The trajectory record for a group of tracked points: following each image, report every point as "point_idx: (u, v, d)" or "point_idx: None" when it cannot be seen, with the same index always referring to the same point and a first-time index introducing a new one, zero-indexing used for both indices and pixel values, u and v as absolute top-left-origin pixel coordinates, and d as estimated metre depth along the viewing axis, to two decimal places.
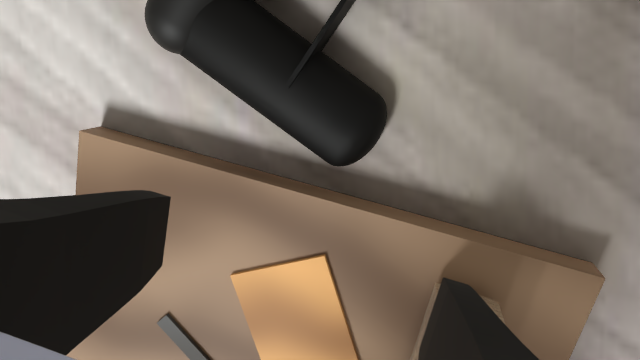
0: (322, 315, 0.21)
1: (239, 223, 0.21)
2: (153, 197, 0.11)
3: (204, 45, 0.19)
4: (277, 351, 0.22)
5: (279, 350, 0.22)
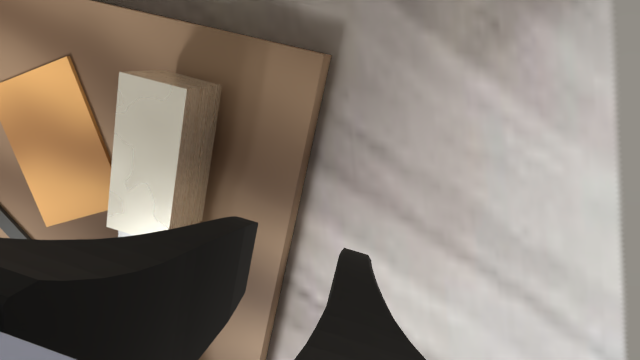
0: (74, 124, 0.21)
1: None
2: (247, 225, 0.11)
3: None
4: (40, 170, 0.22)
5: (41, 169, 0.22)
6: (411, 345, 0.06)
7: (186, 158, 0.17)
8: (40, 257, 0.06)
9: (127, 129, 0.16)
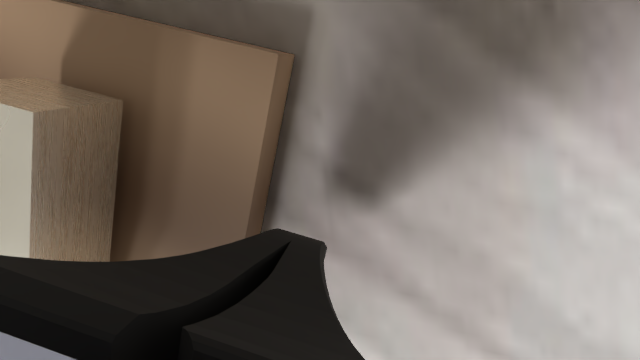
0: None
1: None
2: (292, 238, 0.10)
3: None
4: None
5: None
6: (335, 321, 0.07)
7: (52, 222, 0.10)
8: (119, 283, 0.06)
9: None
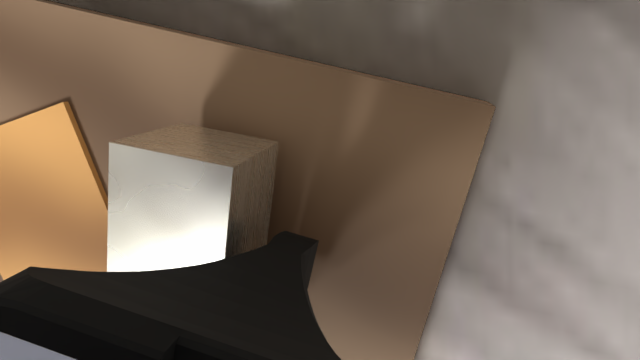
0: (75, 204, 0.14)
1: None
2: (312, 244, 0.10)
3: None
4: (24, 267, 0.15)
5: (26, 266, 0.14)
6: (309, 312, 0.07)
7: None
8: (154, 295, 0.05)
9: (130, 239, 0.09)
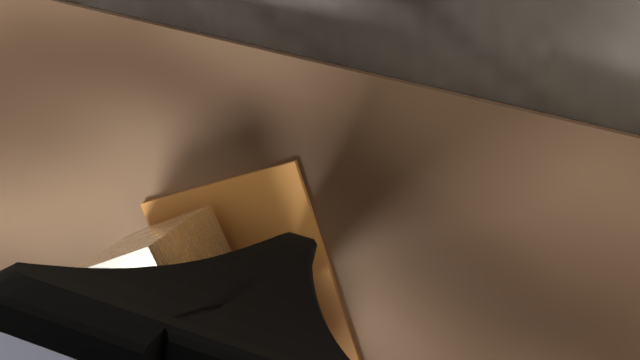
0: None
1: (152, 111, 0.12)
2: (305, 242, 0.10)
3: None
4: None
5: None
6: (319, 316, 0.07)
7: None
8: (142, 291, 0.05)
9: None
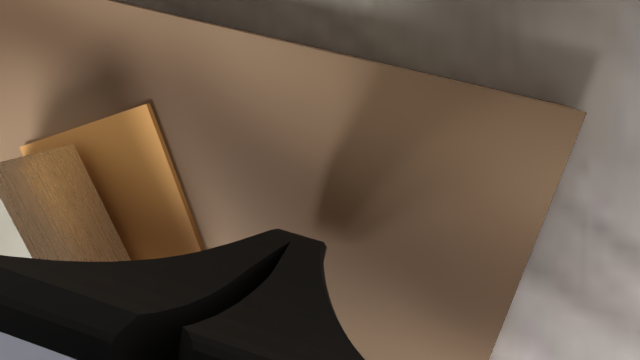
0: (153, 204, 0.14)
1: (24, 61, 0.14)
2: (292, 238, 0.10)
3: None
4: None
5: None
6: (335, 321, 0.07)
7: (56, 256, 0.12)
8: (119, 283, 0.06)
9: None
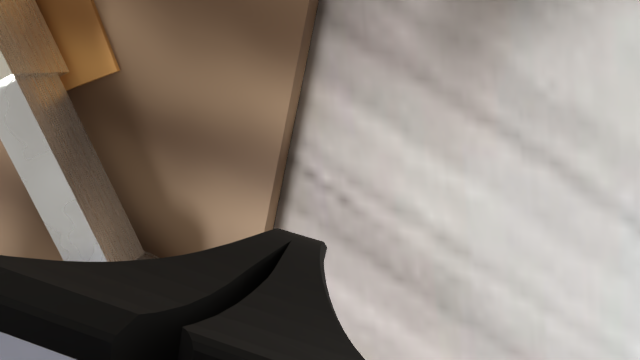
0: None
1: None
2: (292, 238, 0.10)
3: None
4: None
5: None
6: (336, 321, 0.07)
7: None
8: (119, 283, 0.06)
9: None
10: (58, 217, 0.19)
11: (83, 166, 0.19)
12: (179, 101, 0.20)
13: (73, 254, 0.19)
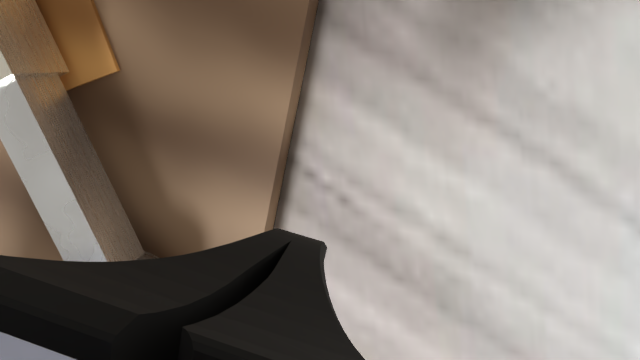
0: None
1: None
2: (292, 238, 0.10)
3: None
4: None
5: None
6: (336, 321, 0.07)
7: None
8: (119, 283, 0.06)
9: None
10: (58, 217, 0.19)
11: (83, 166, 0.19)
12: (179, 101, 0.20)
13: (73, 254, 0.19)
